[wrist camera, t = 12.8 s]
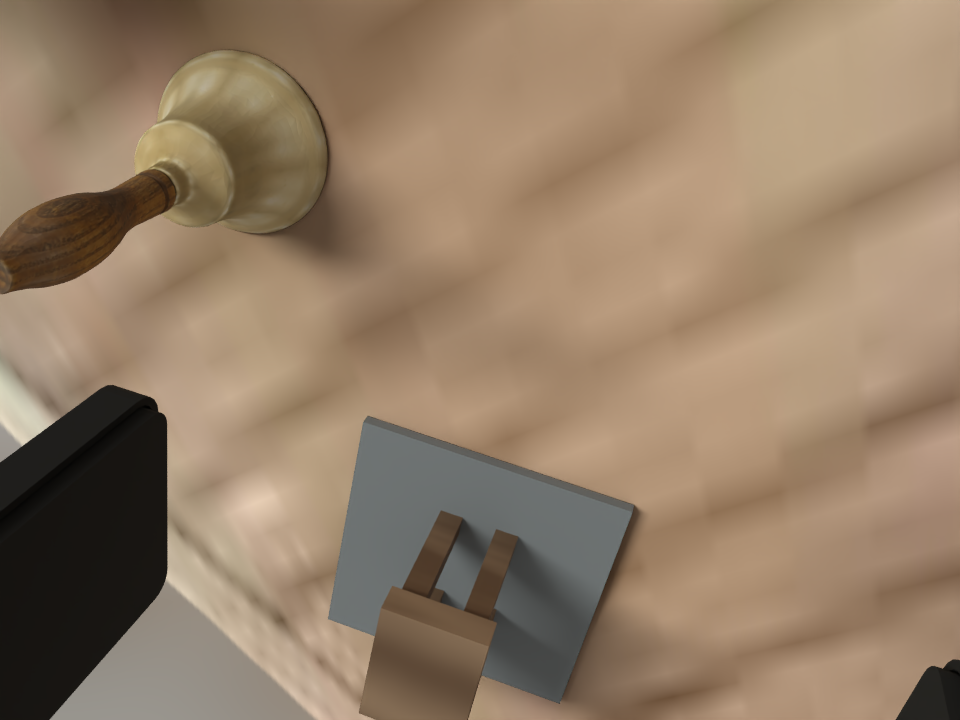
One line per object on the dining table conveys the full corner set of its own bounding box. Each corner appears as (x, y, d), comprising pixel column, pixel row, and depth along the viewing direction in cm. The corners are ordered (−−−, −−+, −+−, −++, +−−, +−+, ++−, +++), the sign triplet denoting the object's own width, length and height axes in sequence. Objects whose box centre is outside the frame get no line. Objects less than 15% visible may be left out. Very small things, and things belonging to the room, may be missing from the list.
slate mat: (633, 505, 44) (632, 512, 44) (561, 695, 51) (559, 703, 51) (367, 415, 46) (363, 421, 45) (332, 611, 53) (328, 618, 52)
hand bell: (354, 210, 41) (159, 365, 27) (206, 248, 44) (-39, 406, 30) (286, 25, 38) (29, 94, 24) (132, 78, 41) (-177, 167, 27)
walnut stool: (497, 631, 49) (457, 750, 42) (411, 600, 50) (358, 713, 43) (527, 534, 46) (488, 646, 39) (434, 503, 47) (380, 608, 40)
